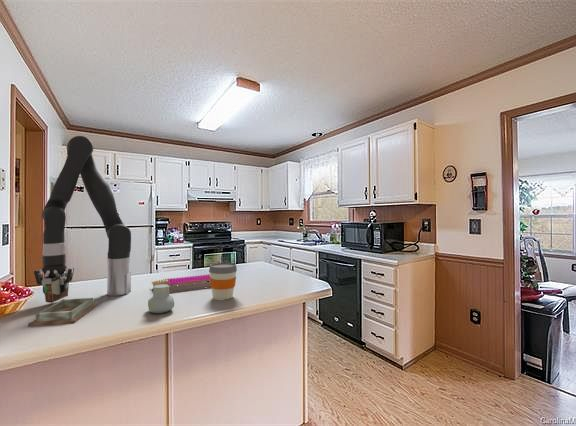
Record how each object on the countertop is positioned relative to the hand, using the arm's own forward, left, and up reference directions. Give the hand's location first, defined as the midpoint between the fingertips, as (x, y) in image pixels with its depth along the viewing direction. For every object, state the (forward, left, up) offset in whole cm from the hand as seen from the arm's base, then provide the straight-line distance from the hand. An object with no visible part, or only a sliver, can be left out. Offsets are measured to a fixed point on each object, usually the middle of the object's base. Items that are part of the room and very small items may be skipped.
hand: (54, 293), depth 121 cm
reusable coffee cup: (-70, +4, -5) cm, 70 cm away
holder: (-12, +15, -4) cm, 20 cm away
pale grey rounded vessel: (-46, +18, -5) cm, 49 cm away
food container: (+1, 0, -3) cm, 3 cm away
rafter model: (-52, -18, -5) cm, 56 cm away
